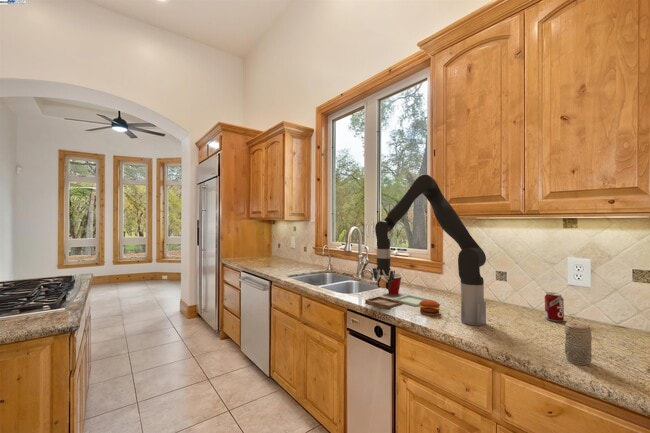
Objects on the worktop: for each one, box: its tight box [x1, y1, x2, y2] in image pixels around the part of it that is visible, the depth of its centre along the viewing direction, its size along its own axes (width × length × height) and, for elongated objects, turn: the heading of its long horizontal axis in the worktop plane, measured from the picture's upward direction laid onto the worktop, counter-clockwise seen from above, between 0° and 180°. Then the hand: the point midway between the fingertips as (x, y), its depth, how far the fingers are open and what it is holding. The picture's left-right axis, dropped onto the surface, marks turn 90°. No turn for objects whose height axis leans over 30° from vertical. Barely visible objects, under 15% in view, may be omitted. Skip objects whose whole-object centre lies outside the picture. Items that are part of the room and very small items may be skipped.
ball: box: [379, 278, 386, 289], centre depth 159 cm, size 5×5×5 cm
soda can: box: [544, 291, 565, 323], centre depth 132 cm, size 7×7×12 cm
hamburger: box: [419, 299, 441, 317], centre depth 142 cm, size 9×10×7 cm
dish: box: [392, 294, 433, 308], centre depth 162 cm, size 15×15×2 cm
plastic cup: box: [387, 273, 403, 296], centre depth 181 cm, size 11×11×12 cm
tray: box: [364, 295, 403, 310], centre depth 159 cm, size 16×12×2 cm
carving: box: [564, 321, 593, 366], centre depth 92 cm, size 6×8×12 cm
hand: (383, 288), depth 159 cm, fingers closed on ball, 5 cm apart
